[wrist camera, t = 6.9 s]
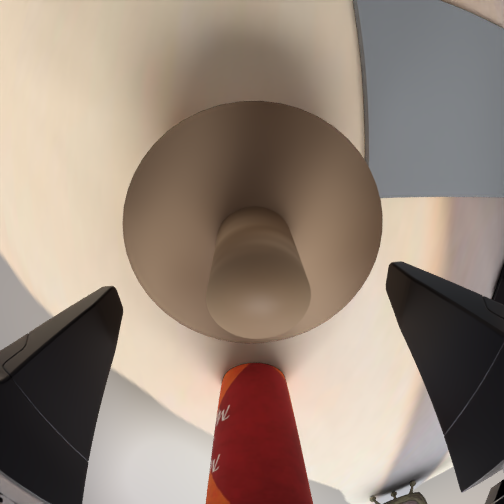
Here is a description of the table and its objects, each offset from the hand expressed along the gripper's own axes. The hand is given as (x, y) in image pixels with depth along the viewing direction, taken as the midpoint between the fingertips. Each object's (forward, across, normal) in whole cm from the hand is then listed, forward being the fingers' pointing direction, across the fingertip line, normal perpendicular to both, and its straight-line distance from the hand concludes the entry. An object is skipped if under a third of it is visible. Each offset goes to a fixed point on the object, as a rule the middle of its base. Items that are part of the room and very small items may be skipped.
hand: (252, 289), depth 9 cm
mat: (+9, -14, -7) cm, 18 cm away
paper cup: (+9, +1, +16) cm, 19 cm away
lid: (+4, 0, 0) cm, 4 cm away
